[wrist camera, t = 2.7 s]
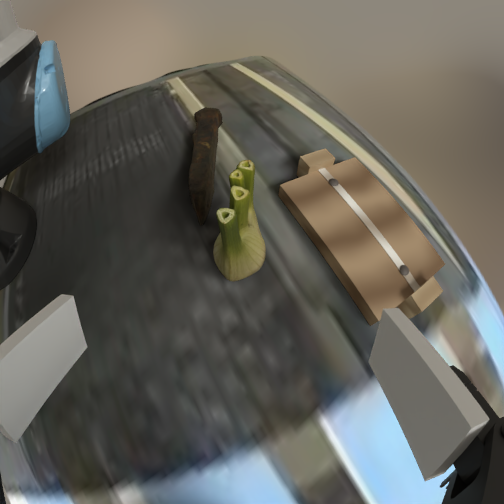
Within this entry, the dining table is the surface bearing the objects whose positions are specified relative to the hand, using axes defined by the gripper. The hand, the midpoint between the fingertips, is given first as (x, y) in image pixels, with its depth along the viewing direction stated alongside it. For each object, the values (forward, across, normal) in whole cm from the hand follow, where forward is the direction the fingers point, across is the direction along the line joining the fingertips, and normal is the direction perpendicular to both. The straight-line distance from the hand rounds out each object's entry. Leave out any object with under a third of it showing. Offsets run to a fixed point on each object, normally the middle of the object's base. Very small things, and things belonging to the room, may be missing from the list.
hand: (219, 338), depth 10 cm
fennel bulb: (+18, 0, -3) cm, 18 cm away
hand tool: (+28, -5, +6) cm, 29 cm away
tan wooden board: (+21, +14, 0) cm, 25 cm away
